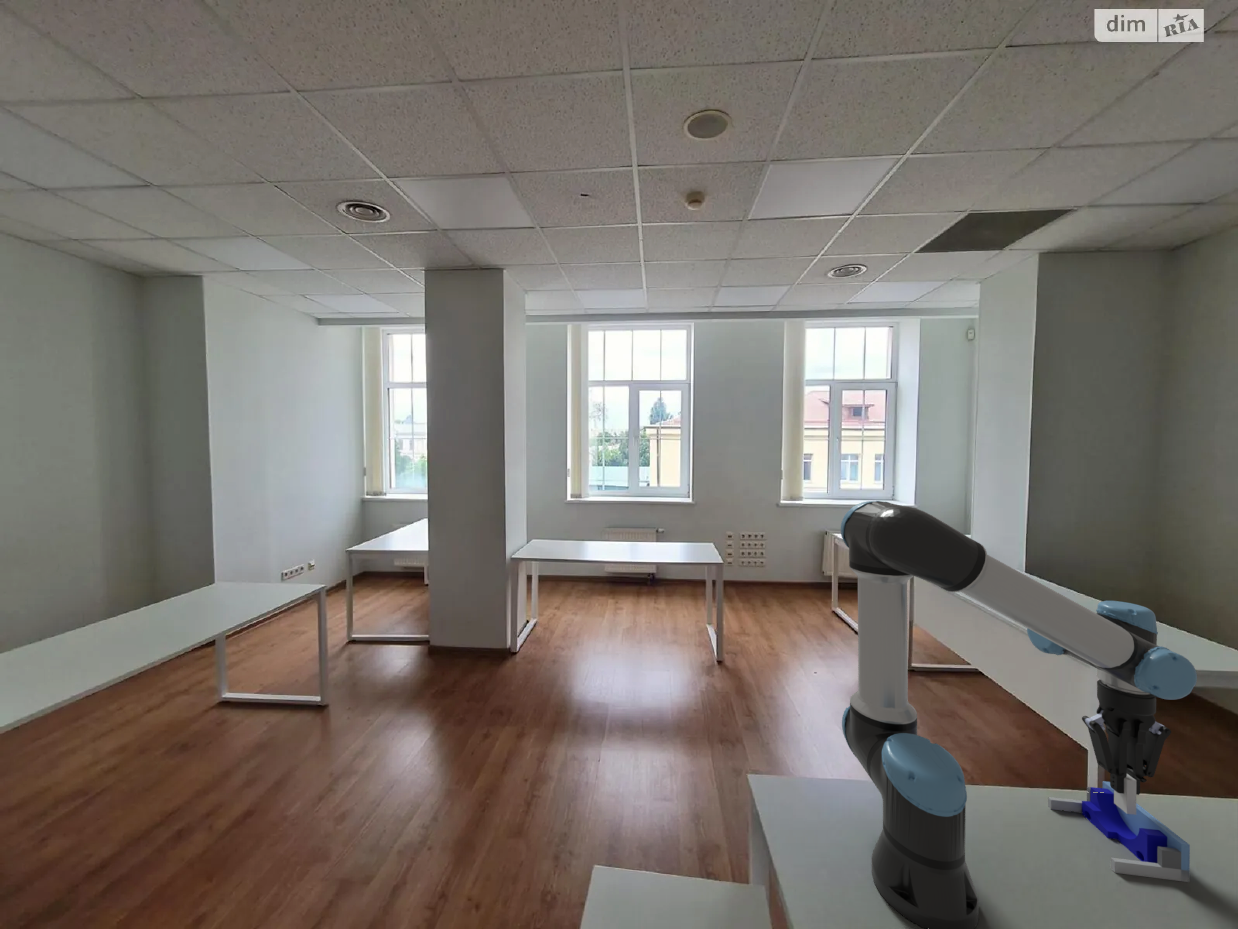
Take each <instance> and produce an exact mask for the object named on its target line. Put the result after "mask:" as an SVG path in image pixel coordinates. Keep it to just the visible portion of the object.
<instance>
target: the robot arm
mask: <svg viewBox="0 0 1238 929" xmlns="http://www.w3.org/2000/svg"><path fill="white" fill-rule="evenodd" d="M840 535H841V539H842V541H843V542H844V545H845V546H846V547H847V548H848V561H849V562H848V564H849V566H848V568H849V569H850V570H851V571H852V572H853V573H854V574H855V575H856V576H857V651H858V652H857V656H858V657H857V658H858V659H857V662H858V666H857V670H858V671H857V677H858V678H857V679H858V680H857V683H858V684H857V685H858V686H857V687H858V688H857V689H858V690H857V691H856V692H854V693H852V694H851V696H850V699H849V706H848V707H846V708H845V710H844V711H843V714H842V720H841V729H842V733H843V736H844V738H845V741H846V744H847V745H848V747H849V750H850V751H851V752H852V754H853V755H854V757H855V758H856V759H857V761H858V762H859V764H860V765H861V766H862V768H863V769H864V771H865V772H866V774H867V776H869V779H871V781H872V783H873V785H875V787H876V789H877V790H878V791H879V793H880V795H881V798H882V829H881V832H880V834H879V837H878V838H877V841H876V844H875V846H874V849H873V851H872V853H871V876H872V880H873V882H874V885H875V886H876V889H878V892H879V893H880V895H881V896H882V897H883V898H884V900H885V901H886V902H887V903H888V904H889V905H890V906H891V907H892V908H893V909H894V910H895V911H896V912H898V913H899V915H901V916H903V917H904V918H906V919H907V920H909V921H910V922H912V923H914V924H916V925H918V926H920V927H921V928H924V929H926V928H929V929H975V928H976V927H977V926H978V923H979V920H980V918H979V917H980V915H979V914H980V913H979V912H980V909H979V908H980V905H979V904H980V903H979V897H978V894H977V891H976V888H975V885H974V882H973V879H972V877H971V873H970V870H969V868H968V865H967V862H966V804H967V799H968V794H967V787H966V782H965V775H964V772H963V769H962V767H961V765H960V764H959V762H958V761H957V760H956V758H955V757H954V756H953V755H952V754H951V753H950V752H949V751H948V750H947V749H945V748H944V747H943V746H941V745H940V744H938V743H937V742H936V743H933V742H931V740H930V739H928V738H926V737H924V736H921V735H918V713H917V710H916V709H915V708H914V706H913V705H912V704H910V703H909V701H908V700H909V691H908V690H909V688H908V687H909V686H908V684H909V683H908V678H909V677H908V675H909V674H908V672H909V671H908V670H909V669H908V667H909V666H908V665H909V664H908V658H909V657H908V651H909V650H908V649H909V648H908V643H909V642H908V582H909V580H911V579H912V578H914V577H915V578H918V579H921V580H923V581H926V582H928V583H931V584H933V585H936V586H937V587H939V588H941V589H942V590H944V591H946V592H948V593H953V594H954V593H962V594H964V595H966V596H968V597H970V598H971V599H973V600H975V601H977V602H979V603H980V604H983V605H984V606H986V607H988V608H989V609H992V611H995V612H997V613H999V614H1000V615H1002V616H1004V617H1006V618H1008V619H1009V620H1012V621H1014V622H1015V623H1017V624H1019V625H1020V626H1022V627H1025V628H1027V629H1026V632H1027V636H1028V638H1029V640H1030V643H1032V645H1033V646H1034V647H1035V648H1036V649H1037V650H1038V651H1040V652H1042V653H1044V654H1048V655H1055V656H1063V655H1064V656H1066V655H1067V656H1069V657H1072V658H1074V659H1076V660H1078V661H1080V662H1082V663H1085V664H1086V665H1089V666H1091V667H1093V668H1095V669H1096V677H1097V678H1098V679H1099V680H1097V681H1096V698H1097V699H1098V704H1099V705H1098V707H1097V708H1096V714H1094V715H1093V716H1090V717H1089V716H1087V715H1082V716H1081V720H1082V722H1083V723H1084V725H1085V726H1086V728H1087V730H1088V732H1089V737H1090V742H1091V744H1092V747H1093V751H1094V755H1095V759H1096V763H1097V764H1098V765H1099V766H1100V767H1101V768H1102V769H1103V770H1105V771H1106V772H1108V773H1109V775H1110V776H1109V779H1110V780H1109V782H1110V786H1111V788H1112V789H1114V804H1116V805H1117V806H1118V807H1119V808H1121V809H1122V810H1123V811H1124V812H1125V813H1127V814H1134V815H1136V803H1137V796H1139V795H1141V783H1142V784H1143V783H1146V782H1147V780H1148V779H1147V778H1145V777H1148V778H1153V777H1154V776H1155V774H1156V771H1157V767H1158V764H1159V761H1160V758H1161V754H1162V750H1163V748H1164V744H1165V742H1166V740H1167V739H1168V738H1169V737H1170V735H1171V734H1172V730H1171V729H1170V728H1169V727H1166V726H1165V725H1163V724H1162V723H1160V722H1158V721H1156V717H1155V715H1156V713H1157V698H1160V699H1162V700H1163V699H1164V700H1180V699H1183V698H1185V697H1187V696H1188V695H1190V694H1191V693H1192V690H1194V687H1195V686H1196V685H1197V681H1198V675H1197V671H1196V668H1195V666H1194V665H1193V663H1192V662H1191V661H1190V660H1189V659H1188V658H1187V657H1185V656H1184V655H1182V654H1180V653H1177V652H1174V651H1172V650H1171V649H1169V648H1167V647H1165V646H1159V645H1157V642H1158V633H1159V631H1158V627H1157V618H1156V614H1155V613H1154V611H1153V610H1151V609H1150V608H1148V607H1146V606H1143V605H1140V604H1136V603H1131V602H1125V601H1117V600H1104V601H1099V602H1098V604H1097V608H1096V610H1095V611H1096V612H1094V611H1092V610H1091V609H1089V608H1087V607H1085V606H1083V605H1081V604H1079V603H1078V602H1076V601H1074V600H1072V599H1070V598H1068V597H1066V596H1065V595H1063V594H1061V593H1059V592H1057V591H1055V590H1053V589H1051V588H1050V587H1048V586H1046V585H1044V584H1043V583H1041V582H1040V581H1037V580H1035V579H1034V578H1031V577H1029V576H1028V575H1025V574H1024V573H1022V572H1020V571H1018V570H1016V569H1015V568H1013V567H1011V566H1009V565H1008V564H1005V563H1004V562H1002V561H1000V560H998V559H996V558H995V557H993V556H990V554H988V552H987V549H986V547H985V546H984V545H983V544H981V543H980V542H978V541H976V540H974V539H972V538H971V537H969V536H967V535H966V534H964V533H962V532H960V531H959V530H957V529H955V528H953V527H952V526H951V525H949V524H947V523H945V522H944V521H942V520H941V519H938V518H937V517H935V516H933V515H931V514H929V513H928V512H925V511H924V510H921V509H918V508H916V507H912V506H905V505H899V504H897V503H896V504H895V503H892V502H888V501H881V500H876V501H875V500H872V501H871V500H870V501H869V500H868V501H863V502H861V503H857V504H856V505H854V506H852V507H851V508H850V509H849V510H848V511H846V512H845V514H844V516H843V518H842V521H841V524H840ZM1105 731H1106V732H1105ZM1106 733H1107V735H1106Z"/></svg>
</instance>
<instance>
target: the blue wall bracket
mask: <svg viewBox="0 0 1238 929" xmlns="http://www.w3.org/2000/svg"><path fill="white" fill-rule="evenodd" d="M1091 787H1092V786H1086V801H1090V792H1091ZM1102 788H1105V789H1108V790H1110V791H1111V792H1112V793H1113V794H1114V789H1112V788H1111V786H1110V781H1105V780H1103V781H1102ZM1087 791H1088V792H1089V793H1087ZM1082 801H1083V800H1080V799H1079V800H1078V799H1071V798H1060V797H1053V796H1051V797H1050V796H1048V798H1047V807H1048V808H1049V809H1050V810H1054V811H1055V810H1056V811H1062V810H1064V811H1065V812H1071V811H1074V812H1073V813H1081V814H1082ZM1116 806H1117V805H1116ZM1117 809H1118V811H1119V814H1120V816H1121V817H1122V819H1123V821H1124V822H1125V824H1126V825H1127V826H1128V827H1129V829H1130V830H1131V831H1132V832H1133V833H1134V834H1135V835H1137V836H1138V833H1139V828H1145V829H1154V830H1159V831H1161V832H1162V833H1163V834H1164V835H1166V836H1167V847H1159V846H1158V850H1157V863H1151V862H1143V861H1140V860H1134V859H1127V858H1126V859H1125V858H1117V857H1110V869H1111V870H1112V872H1114V873H1115V874H1121V875H1122V874H1124V875H1130V876H1131V875H1132V876H1137V877H1147V878H1154V879H1160V880H1161V879H1163V880H1169V881H1177V882H1178V881H1179V882H1183V883H1184V882H1185V883H1190V876H1191V875H1190V870H1191V869H1190V866H1191V865H1190V863H1191V862H1190V861H1191V860H1190V857H1191V855H1190V854H1191V852H1190V850H1191V847H1190V846H1191V845H1190V844H1189V843H1188V842H1187V841H1186V840H1184V839H1183V838H1181V836H1179V835H1177V834H1176V832H1174V831H1172V830H1171V829H1170V828H1169V827H1168V826H1166V825H1165V824H1164V823H1163V822H1161V821H1160V820H1158V818H1156V817H1155V816H1153V814H1151V813H1150V812H1149V811H1147V810H1146V809H1145V808H1143V806H1141V805H1139V804H1138V803H1137V802H1136V815H1134V814H1127V813H1125V812H1124V811H1123V810H1122V809H1121V808H1119V807H1118V806H1117ZM1064 811H1063V812H1064Z"/></svg>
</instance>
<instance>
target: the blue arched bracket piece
mask: <svg viewBox="0 0 1238 929" xmlns="http://www.w3.org/2000/svg"><path fill="white" fill-rule="evenodd" d="M1090 787H1091V792H1090V801H1087V800H1081V801H1082V813H1081V815H1082V816H1083V817H1084V818H1087V821H1089V822H1090V823H1091V824H1092V825H1093V826H1094V827H1095V828H1097V830H1098V831H1099V832H1101V834H1103V835H1104V837H1106V838H1107V839H1110V840H1112V839H1113V840H1117V841H1118V842H1119V843H1120V844H1121V845H1123V846H1124V847H1125V848H1126V849H1127V850H1128V851H1129V852H1130V853H1132V854H1133V856H1135V857H1136V858H1137V859H1138V861H1143V862H1151V863H1157V850H1158V846H1159V847H1167V836H1166V835H1164V834H1163V833H1162V832H1161V831H1159V830H1154V829H1145V828H1139V833H1138V836H1137V835H1135V834H1134V833H1133V832H1132V831H1131V830H1130V829H1129V827H1128V826H1127V825H1126V824H1125V822H1124V821H1123V819H1122V817H1121V816H1120V814H1119V811H1118V809H1117V806H1116V804H1114V794H1113V793H1112V792H1111V791H1110V790H1108V789H1105V788H1103V787H1095V786H1093V787H1092V786H1090ZM1093 792H1098V793H1093ZM1100 792H1104V793H1100Z"/></svg>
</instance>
